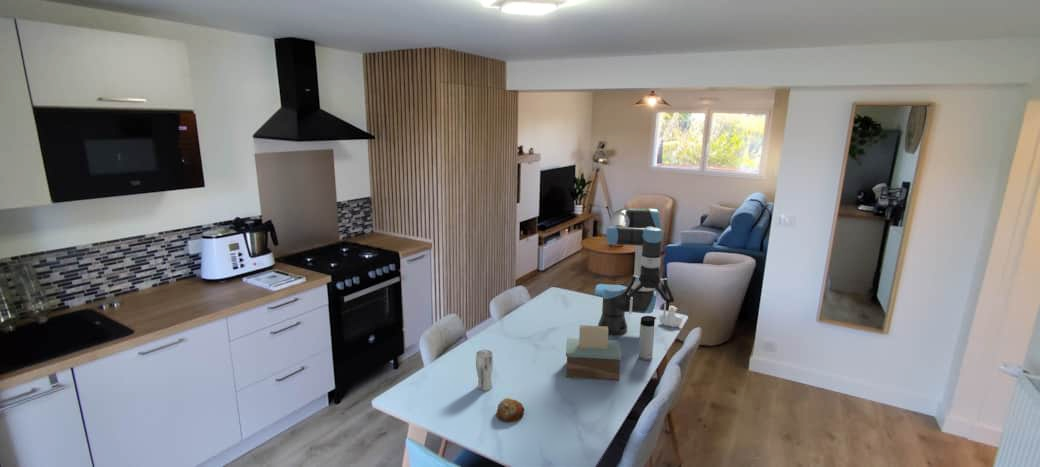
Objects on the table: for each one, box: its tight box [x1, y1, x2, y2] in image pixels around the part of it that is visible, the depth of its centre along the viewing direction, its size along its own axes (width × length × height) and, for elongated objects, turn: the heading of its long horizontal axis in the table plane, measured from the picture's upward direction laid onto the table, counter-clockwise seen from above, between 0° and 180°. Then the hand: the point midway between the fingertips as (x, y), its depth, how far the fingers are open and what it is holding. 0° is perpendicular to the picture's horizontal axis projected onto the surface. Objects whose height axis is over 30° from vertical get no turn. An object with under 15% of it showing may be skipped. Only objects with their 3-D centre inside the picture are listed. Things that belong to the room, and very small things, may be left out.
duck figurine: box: [658, 305, 683, 328], centre depth 261 cm, size 12×8×11 cm
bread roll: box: [495, 397, 525, 423], centre depth 178 cm, size 10×10×8 cm
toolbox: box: [566, 356, 621, 382], centre depth 210 cm, size 14×22×10 cm, turn 83°
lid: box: [565, 324, 623, 361], centre depth 208 cm, size 15×23×10 cm, turn 83°
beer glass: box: [475, 349, 494, 392], centre depth 196 cm, size 7×7×15 cm
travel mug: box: [638, 315, 657, 361], centre depth 222 cm, size 6×7×20 cm
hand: (647, 315), depth 201 cm, fingers open, 13 cm apart
